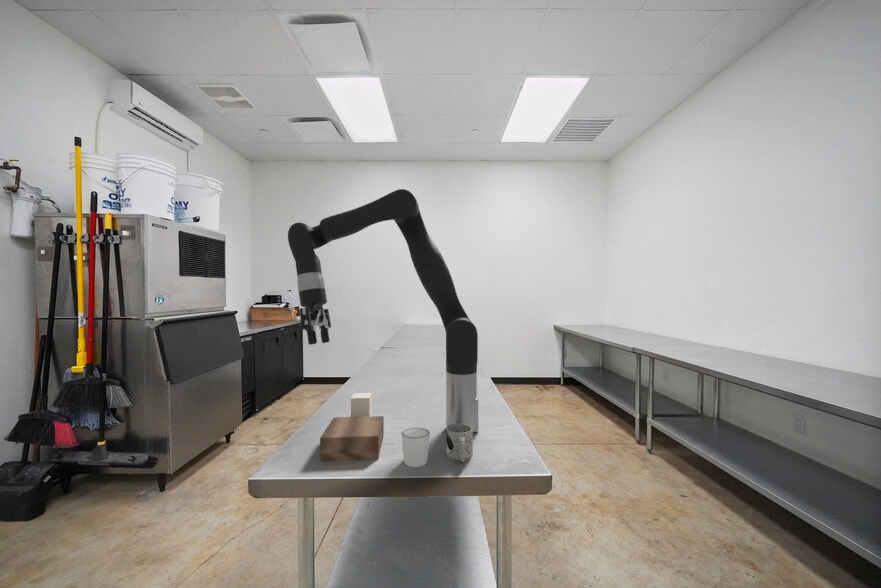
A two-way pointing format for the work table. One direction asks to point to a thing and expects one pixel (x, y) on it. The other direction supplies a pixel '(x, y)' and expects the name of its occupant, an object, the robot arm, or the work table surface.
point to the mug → (459, 441)
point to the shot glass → (415, 446)
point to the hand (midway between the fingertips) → (319, 343)
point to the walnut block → (352, 439)
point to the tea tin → (361, 405)
